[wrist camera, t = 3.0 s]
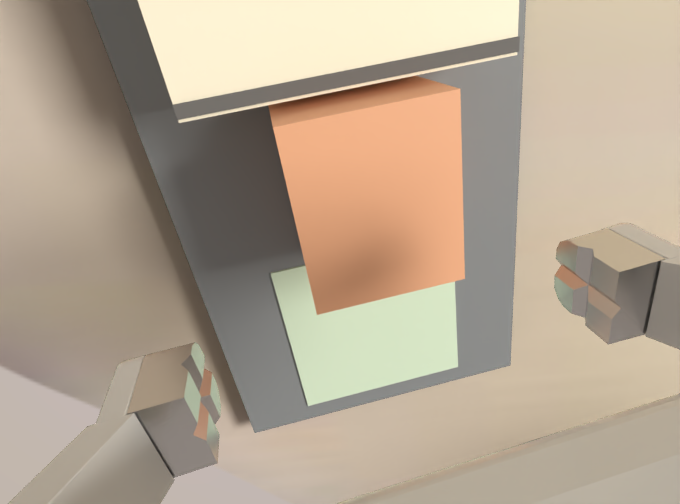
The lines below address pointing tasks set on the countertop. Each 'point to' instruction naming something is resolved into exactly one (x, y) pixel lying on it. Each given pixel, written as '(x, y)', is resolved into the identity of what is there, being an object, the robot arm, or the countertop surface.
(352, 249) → the stub
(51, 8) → the countertop surface
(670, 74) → the countertop surface
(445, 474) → the robot arm
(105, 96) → the countertop surface
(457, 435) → the countertop surface
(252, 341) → the ticket board
